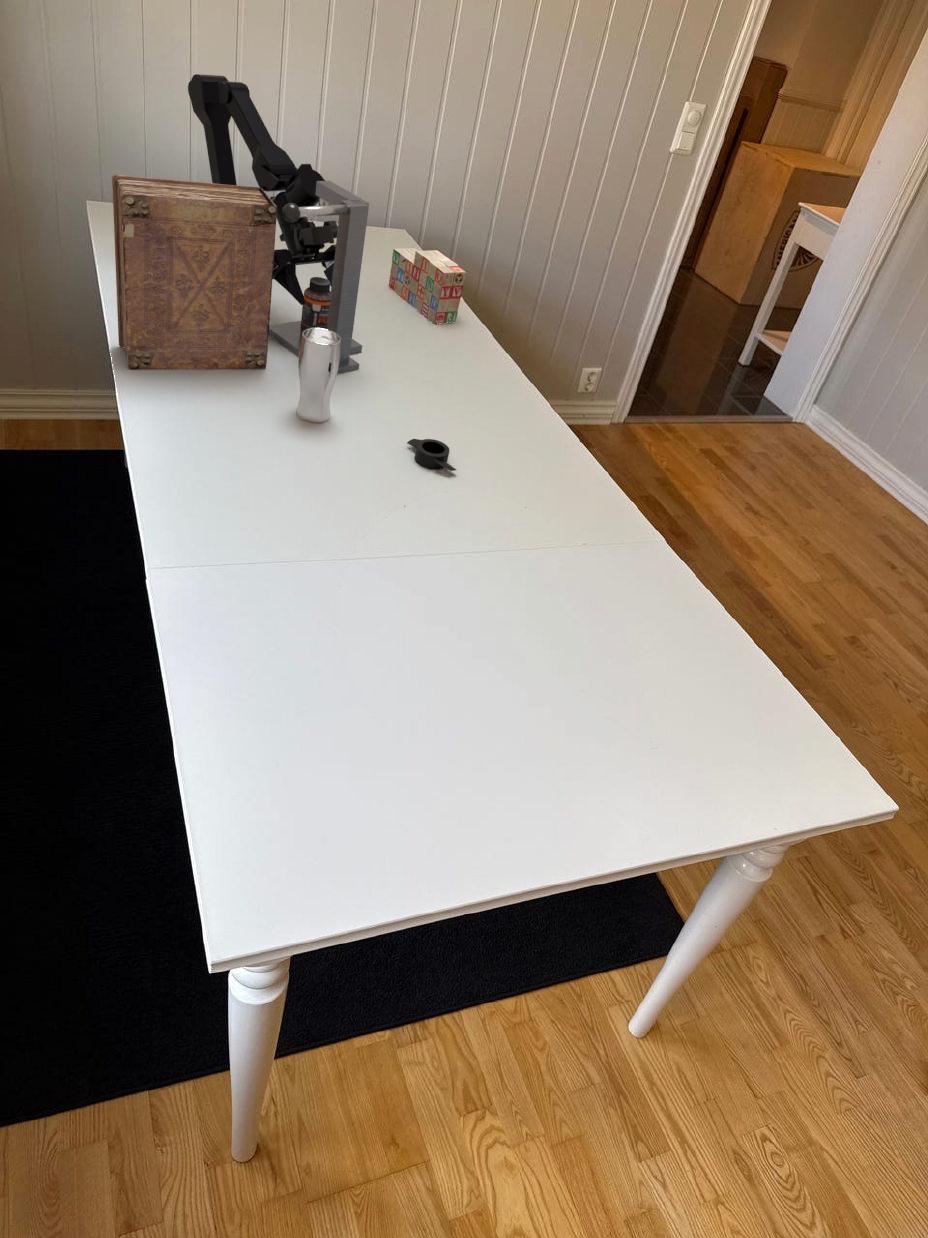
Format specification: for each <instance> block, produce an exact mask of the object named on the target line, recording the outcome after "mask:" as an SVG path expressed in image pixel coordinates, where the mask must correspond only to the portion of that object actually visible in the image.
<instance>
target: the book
mask: <svg viewBox="0 0 928 1238" xmlns="http://www.w3.org/2000/svg"><path fill="white" fill-rule="evenodd" d="M111 184H112V186H111V187H112V206H113V209H112V210H113V212H112V213H113V233H114V235H113V236H114V238H113V239H114V257H115V259H114V260H115V279H116V280H115V281H116V283H115V284H116V285H115V286H116V307H117V330H118V335H117V336H118V337H117V338H118V346H119V347H120V348H121V347H124V348H123V349H124V350H125V353H126V357H127V358H126V359H127V368H128V369H129V370H131V371H142V370H144V371H146V370H147V371H150V370H152V371H153V370H157V371H158V370H159V371H160V370H163V371H164V370H165V371H166V370H168V371H169V370H253V369H255V370H257V369H261V370H262V369H263V370H265V369H266V368H267V361H268V350H269V349H268V346H269V325H270V317H271V304H272V302H271V301H272V291H273V290H272V288H273V279H272V277H273V262H274V250H275V247H276V231H277V206H276V205H275V204H274V203H273V201H272V200H271V199H270V196H269V195H268V194H267V192H266V191H264V190H263V189H262V188H260V187H259V186H258V187H255V186H245V185H237V186H236V185H224V184H213V183H212V182H211V183H209V182H202V181H201V182H200V181H188V180H180V179H178V180H177V179H167V178H154V177H144V176H134V175H133V176H132V175H123V174H114V175H112V176H111Z"/></svg>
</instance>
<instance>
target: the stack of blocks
mask: <svg viewBox="0 0 928 1238" xmlns="http://www.w3.org/2000/svg"><path fill="white" fill-rule="evenodd" d="M392 251H393V252H392V258H391V265H390V266H391V268H390V275H389V282H388V287H389V288H390V289H391V290H393V291H394V293H396V294H397V295H398V296H399V297H401V299H403V300H404V301H405V302H406V303H408V305H410V306H411V307H412V308H414V309H415V310H416V309H417V310H418V311H417V310H416V311H417V312H419V313H420V315H422V316H423V315H424V316H425V317H424V316H423V317H424V318H426V320H428V319H429V320H428V321H429V322H430V321H431V322H432V323H431V322H430V323H431V324H433V325H440V324H439V323H447V322H448V323H447V324H450V323H449V322H455V323H456V321H457V317H458V312H459V306H460V302H461V299H462V295H463V290H464V284H465V280H466V277H467V276H466V275H467V272H466V271H465V270H464V269H463V268H461V267H460V266H459V264H458V263H456V262H455V261H453V260H451V259H450V258H449V257H447V256H446V255H445V254H443V253H442V252H440V251H439V250H436V249H435V250H433V249H431V250H418V249H417V248H413V247H411V248H409V247H407V248H393V250H392ZM437 323H438V324H437Z"/></svg>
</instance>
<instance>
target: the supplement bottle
mask: <svg viewBox="0 0 928 1238" xmlns="http://www.w3.org/2000/svg"><path fill="white" fill-rule="evenodd" d="M330 295H331V285H330V281H329V280H327V278H324V277H320V276H313V277H311V278H310V279H309V287H306V288H305V290H304V291H303V296H304V300H305V304H304V305H301V306H302V308H301V316H300V317H301V318H300V321H301V327H300V332H301V334H302V332H303V331H304V330H305V329H307V328H324V329H327V323H328V314H329V305H330Z"/></svg>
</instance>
